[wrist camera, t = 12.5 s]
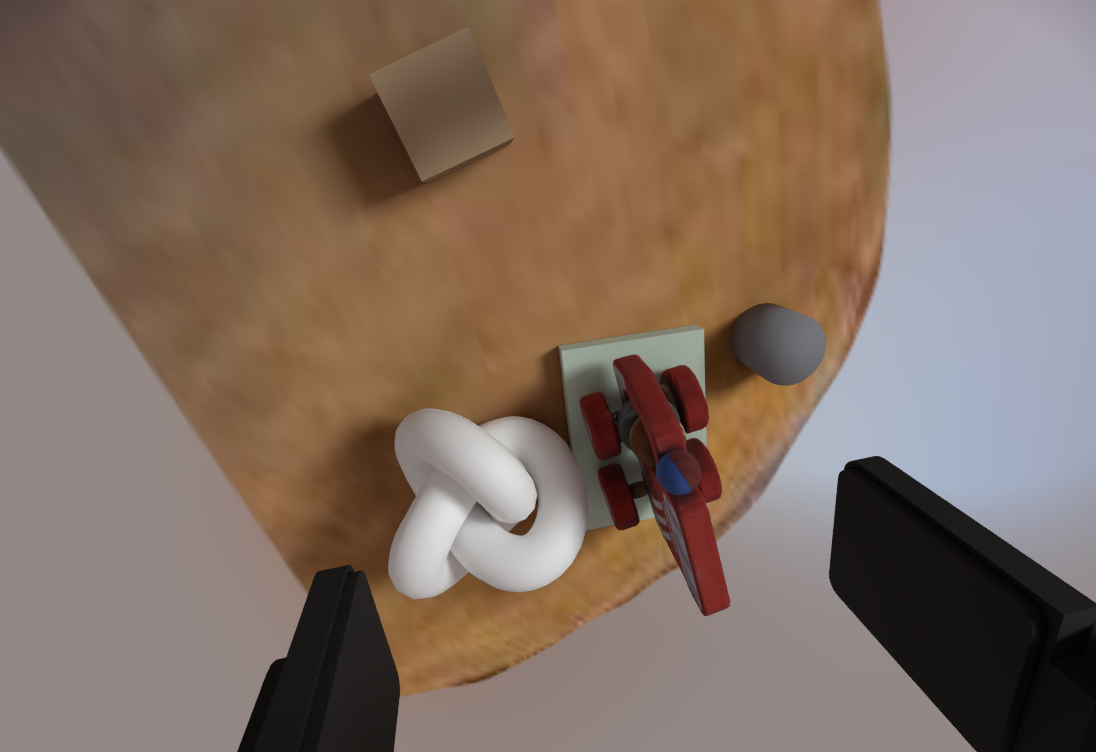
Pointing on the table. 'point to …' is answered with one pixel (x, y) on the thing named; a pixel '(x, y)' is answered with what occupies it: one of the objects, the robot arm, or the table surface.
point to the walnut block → (443, 106)
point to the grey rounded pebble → (778, 343)
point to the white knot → (485, 504)
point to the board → (593, 372)
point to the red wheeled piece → (662, 467)
